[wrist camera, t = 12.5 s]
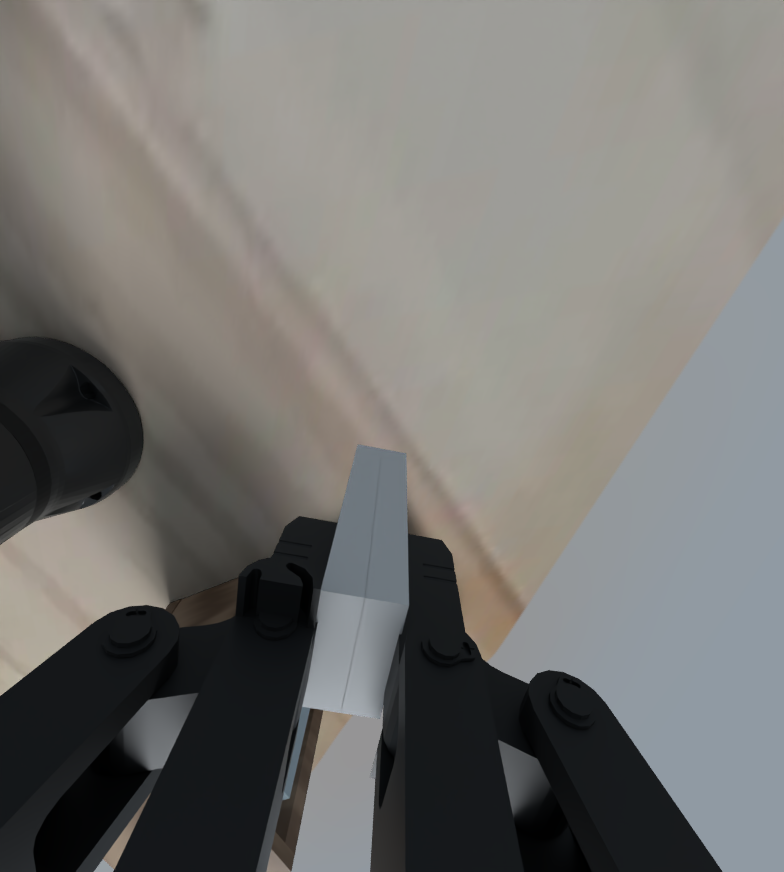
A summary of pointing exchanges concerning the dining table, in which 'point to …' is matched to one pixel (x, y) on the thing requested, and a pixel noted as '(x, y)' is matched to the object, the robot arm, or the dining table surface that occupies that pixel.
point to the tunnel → (222, 607)
